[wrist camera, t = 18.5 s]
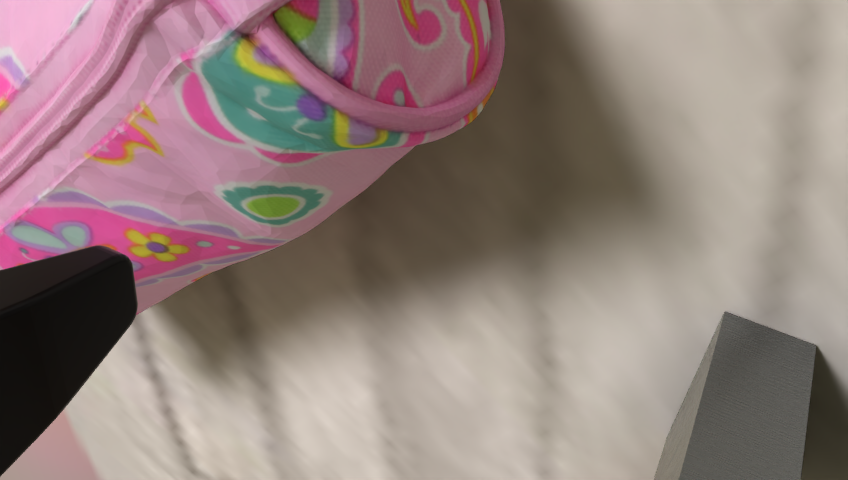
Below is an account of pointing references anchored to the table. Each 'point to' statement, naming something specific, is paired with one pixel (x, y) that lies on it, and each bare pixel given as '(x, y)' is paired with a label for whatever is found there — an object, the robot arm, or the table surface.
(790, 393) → the grey arch block
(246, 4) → the pencil case
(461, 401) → the table surface
